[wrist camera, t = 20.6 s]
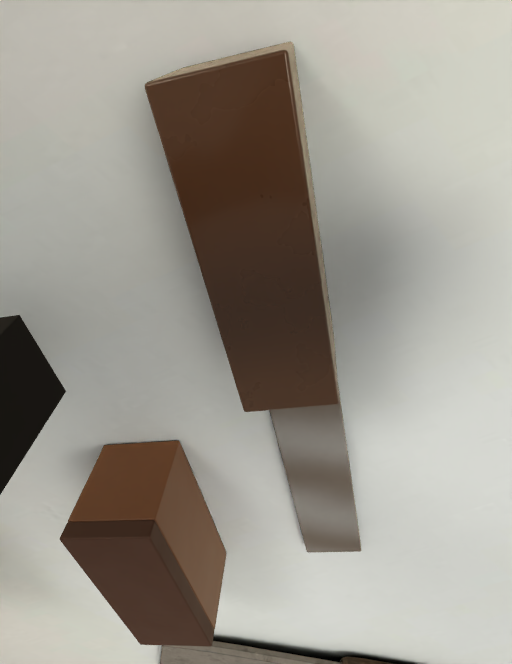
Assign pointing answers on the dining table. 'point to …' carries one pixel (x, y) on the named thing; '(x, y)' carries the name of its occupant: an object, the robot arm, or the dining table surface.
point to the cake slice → (150, 543)
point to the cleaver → (242, 656)
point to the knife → (264, 263)
